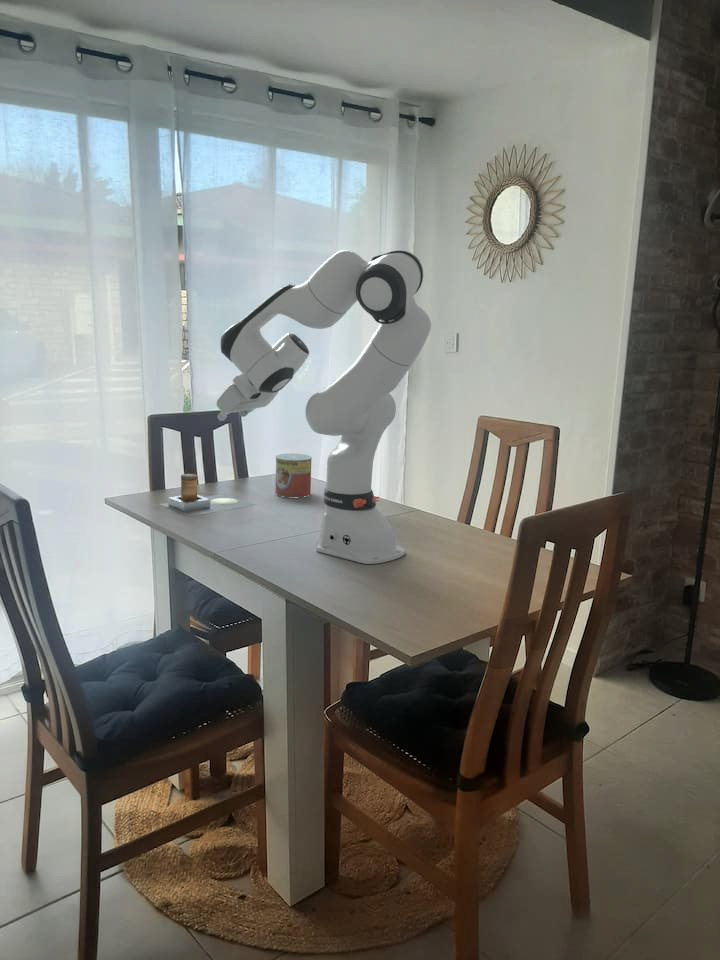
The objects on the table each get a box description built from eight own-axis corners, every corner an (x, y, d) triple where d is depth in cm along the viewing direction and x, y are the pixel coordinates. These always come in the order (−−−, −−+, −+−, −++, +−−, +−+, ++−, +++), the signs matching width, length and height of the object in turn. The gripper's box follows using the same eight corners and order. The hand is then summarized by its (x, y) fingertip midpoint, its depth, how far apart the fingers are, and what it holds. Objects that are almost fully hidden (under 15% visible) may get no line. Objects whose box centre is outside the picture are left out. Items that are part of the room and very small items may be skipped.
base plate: (255, 508, 210) (255, 504, 210) (189, 520, 195) (189, 516, 195) (224, 497, 221) (224, 493, 221) (159, 508, 206) (159, 504, 206)
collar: (210, 507, 205) (210, 499, 204) (184, 512, 199) (184, 503, 198) (194, 501, 210) (194, 493, 210) (168, 505, 205) (168, 497, 204)
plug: (200, 507, 205) (200, 476, 203) (186, 509, 202) (186, 477, 200) (191, 503, 208) (191, 473, 206) (178, 506, 205) (178, 475, 203)
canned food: (267, 493, 228) (268, 456, 226) (291, 488, 238) (292, 452, 235) (294, 500, 222) (295, 461, 220) (317, 494, 231) (319, 457, 229)
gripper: (276, 371, 197) (247, 403, 203) (231, 376, 179) (200, 411, 185) (290, 389, 196) (260, 421, 202) (246, 396, 178) (214, 430, 184)
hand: (231, 416), depth 194 cm, fingers open, 8 cm apart
